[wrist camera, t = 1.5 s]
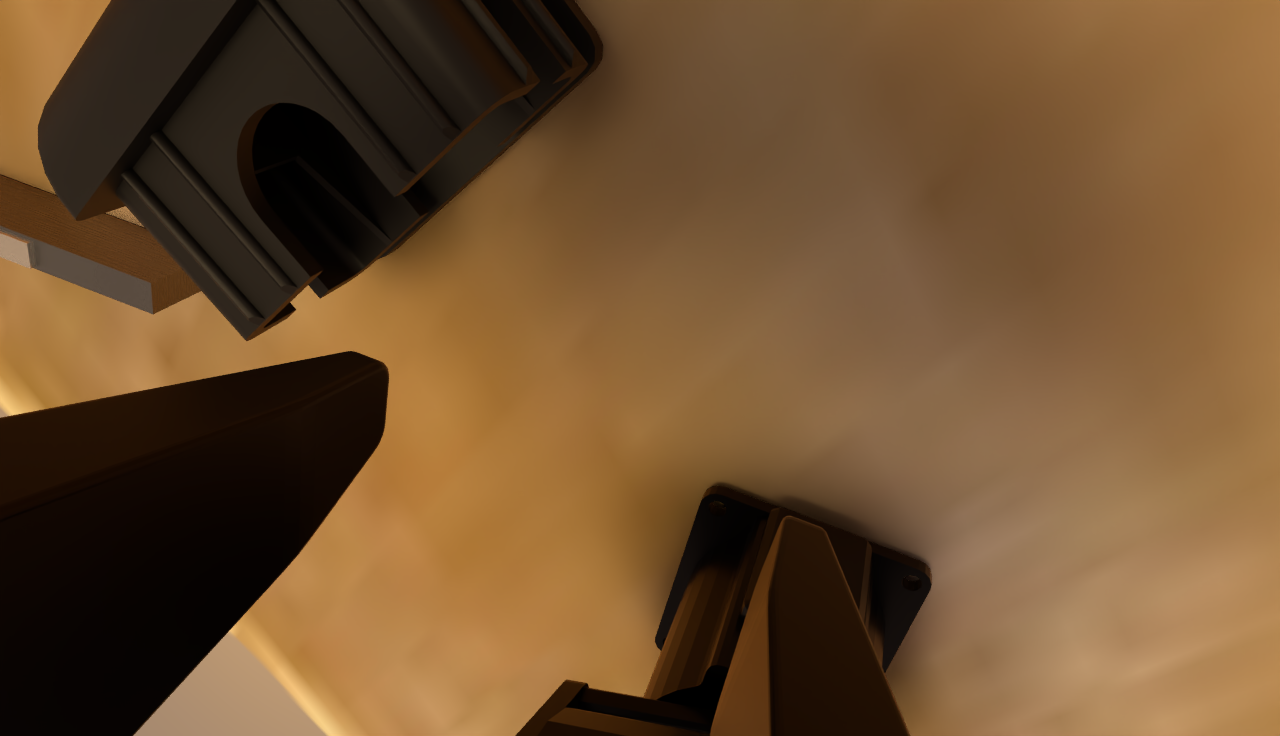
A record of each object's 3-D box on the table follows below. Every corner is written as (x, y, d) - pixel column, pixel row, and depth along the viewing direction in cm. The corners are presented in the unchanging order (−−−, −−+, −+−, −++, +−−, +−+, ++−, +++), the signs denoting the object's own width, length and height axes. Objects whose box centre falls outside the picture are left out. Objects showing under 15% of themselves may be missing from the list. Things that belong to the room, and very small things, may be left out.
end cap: (426, -238, 19) (194, -314, 13) (629, 39, 20) (501, 83, 14) (202, 62, 23) (-38, 104, 18) (376, 268, 25) (204, 371, 19)
